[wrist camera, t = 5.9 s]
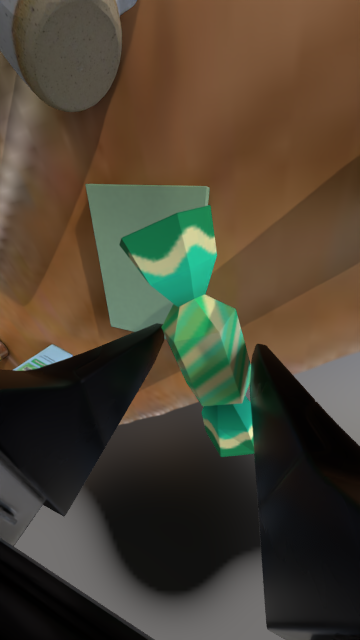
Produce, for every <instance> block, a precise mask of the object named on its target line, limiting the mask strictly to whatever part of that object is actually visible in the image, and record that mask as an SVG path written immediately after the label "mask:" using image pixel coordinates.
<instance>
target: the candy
mask: <svg viewBox="0 0 360 640" xmlns="http://www.w3.org/2000/svg"><path fill="white" fill-rule="evenodd" d="M119 245H120V247H121V248H122V249H123V251H124V252H125V253H126V255H127V256H128V257H129V258H130V260H131V261H132V262H133V264H134V265H135V266H136V268H137V269H138V270H139V271H140V273H141V274H142V275H143V277H144V278H145V279H146V281H147V282H148V283H149V285H151V286H152V287H153V288H154V289H156V290H157V291H158V292H159V293H161V294H162V295H163V296H164V297H166V298H167V299H168V300H169V301H171V302H172V303H173V306H172V308H171V310H170V311H169V313H168V315H167V317H166V319H165V321H164V323H163V325H162V327H161V328H162V330H163V332H164V334H165V337H166V339H167V341H168V343H169V345H170V348H171V350H172V352H173V354H174V356H175V358H176V361H177V363H178V365H179V367H180V369H181V372H182V374H183V376H184V378H185V380H186V382H187V384H188V385H189V387H190V388H191V390H192V391H193V393H194V394H195V396H196V397H197V399H198V400H199V402H200V403H201V405H202V406H204V408H203V410H202V416H203V420H204V425H205V429H206V432H207V434H208V436H209V437H210V439H211V441H212V442H213V444H214V446H215V447H216V449H217V451H218V452H219V454H220V456H221V457H226V456H236V455H246V454H254V442H253V428H252V414H251V402H250V401H249V400H248V398H247V397H246V396H245V394H246V392H247V389H248V386H249V384H250V376H251V364H250V360H249V357H248V353H247V349H246V346H245V342H244V338H243V334H242V331H241V327H240V323H239V319H238V316H237V312H236V309H235V308H232V307H230V306H228V305H226V304H224V303H222V302H220V301H217V300H215V299H213V298H211V297H209V296H207V295H205V294H206V291H207V287H208V284H209V281H210V277H211V274H212V270H213V267H214V264H215V260H216V257H217V251H216V244H215V236H214V229H213V221H212V213H211V206H210V205H208V206H204V207H199V208H195V209H191V210H186V211H182V212H178V213H175V214H173V215H171V216H169V217H166V218H164V219H162V220H160V221H157V222H155V223H153V224H151V225H149V226H146V227H144V228H142V229H140V230H138V231H135V232H133V233H131V234H129V235H126V236H124V237H122V238H121V241H120V244H119Z"/></svg>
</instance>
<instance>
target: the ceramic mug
mask: <svg viewBox="0 0 360 640" xmlns="http://www.w3.org/2000/svg"><path fill="white" fill-rule="evenodd" d="M136 2H137V0H0V51H1V52H2V53H3V55H4V56H5V58H6V59H7V60H8V62H9V63H10V64H11V66H12V67H13V68H14V70H15V71H16V72H17V74H18V75H19V76H20V77H21V78H22V79H23V81H24V82H25V83H26V84H27V85H28V86H29V88H30V89H31V90H32V91H33V92H34V93H35V94H36V95H37V96H38V97H39V98H40V99H41V100H42V101H44V102H45V103H46V104H48V105H49V106H51V107H53V108H55V109H58V110H61V111H65V112H79V111H83V110H86V109H88V108H90V107H92V106H94V105H95V104H97V103H98V102H99V101H100V100H101V99H102V98H103V97H104V96H105V95H106V93H107V92H108V90H109V89H110V87H111V85H112V83H113V81H114V79H115V77H116V74H117V70H118V67H119V63H120V57H121V50H122V29H121V22H120V15H122V14H123V13H124V12H126V11H128V10H129V9H130V8H132V7H133V6H134V5H135V3H136Z"/></svg>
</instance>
